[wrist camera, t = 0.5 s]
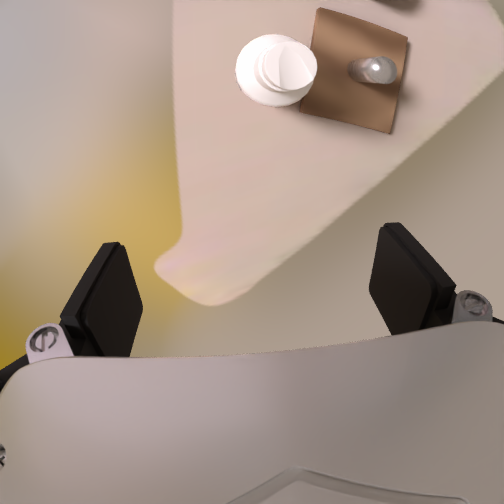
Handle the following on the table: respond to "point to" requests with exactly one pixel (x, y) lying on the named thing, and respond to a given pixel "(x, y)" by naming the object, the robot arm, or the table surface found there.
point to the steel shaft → (373, 70)
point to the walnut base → (336, 75)
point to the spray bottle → (275, 70)
